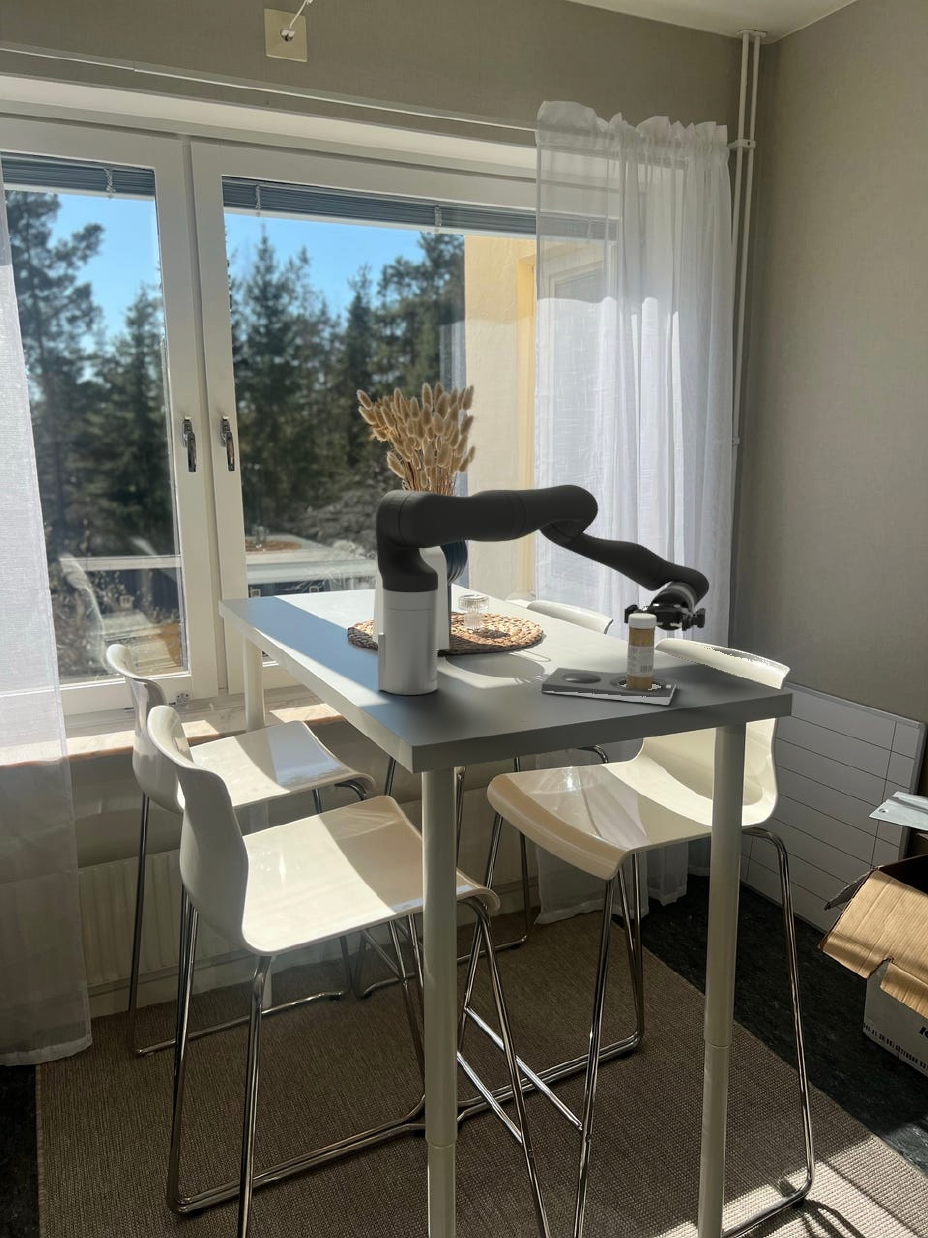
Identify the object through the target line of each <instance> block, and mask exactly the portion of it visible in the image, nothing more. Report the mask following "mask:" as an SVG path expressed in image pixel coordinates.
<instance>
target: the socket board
mask: <svg viewBox="0 0 928 1238" xmlns="http://www.w3.org/2000/svg"><path fill="white" fill-rule="evenodd" d="M676 682H677V683H678V679H677V678H671V677H659V676H652V684H656V685H659V686H661V688H657V689H652V690H639V689H631V688H627V687H623V686H621V685H624V684H627V673H618V672H617V673H616V672H607V671H597V670H588V669H586V670H585V669H576V668H565V667H557V668H556V669H555V670H554V671H553V672H552V673H551V674H550V675H549V676H548V677H547V678H546V679H545V680H544V681H543V682H542V684H541V692H542V691H554V692H578V693H592V694H593V693H594V694H608V695H621V696H642V697H643V696H646V697H670V695H671V693H672V690H673V688H674V686H675V684H676Z"/></svg>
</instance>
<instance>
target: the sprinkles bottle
mask: <svg viewBox="0 0 928 1238" xmlns="http://www.w3.org/2000/svg"><path fill="white" fill-rule="evenodd" d="M627 626H628V642H627V661H626V674H627V685H626V687H627V688H631V689H639V690H648V689H651V688H652V677H654V676H653V675H654V663H655V661H654V660H655V634H656V633H655V631H656V628H657V626H656V616H655V615H652V614H644V613H636V614H631V615H629V620H628V624H627Z"/></svg>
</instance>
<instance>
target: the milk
mask: <svg viewBox="0 0 928 1238" xmlns="http://www.w3.org/2000/svg"><path fill="white" fill-rule="evenodd" d="M419 549H420V555H421V557H422V558H423V560H424V561H425V562H426V563H427V564H428V565H429V566H430V567H432V568H433V569H434V570H435V571H436V572H437V574H438V638H437V649H449V650H450V631H449V629H450V628H449V625H450V624H449V598H448V597H449V595H448V569H447V567H448V563H447V558H446V555H445V553H444V551H443V550H442V548H441V546H437V547H432V548H419ZM375 572H376V574H375V585H374V586H375V587H374V589H375V590H374V591H375V592H374V608H373V622H372V623H373V624H372V627H373V628H372V638H371V639H372V641H374V642H376V643H377V644H378V634H379V633H381V632H383V587H382V577H381V574H380V572H379V569H378V562H377V561H376V571H375ZM372 641H371V642H372Z"/></svg>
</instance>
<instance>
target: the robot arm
mask: <svg viewBox="0 0 928 1238" xmlns="http://www.w3.org/2000/svg"><path fill="white" fill-rule="evenodd" d="M598 513H599V505H598V501H597V500H596V498H595V497H594V495H593V494H592V493H591V492H590V491H588V490H587V489H585V488H583V487H581V486H578V485H575V484H561V485H556V486H550V487H544V488H532V489H487V490H486V489H485V490H481V491H479V492H475V493H474V494H472V495H469V496H455V495H447V494H443V493H442V494H440V493H435V492H430V491H425V490H412V489H411V490H409V489H393V490H391V491H389V492H387V493H386V494H385V495H383V496H382V498H381V499H380V502H379V504H378V507H377V510H376V517H375V539H376V542H375V543H376V557H377V558H376V563H377V562H378V569H379V572H380V574H381V577H382V587H383V632H381V633H379V634H378V647H377V690H380V691H385V692H387V693H389V694H394V695H403V696H411V695H412V696H414V695H425V694H429V693H432V692H435V691H436V690H437V688H438V651H437V638H438V574H437V572H436V571H435V570H434V569H433V568H432V567H430V566H429V565H428V564H427V563H426V562H425V561H424V560H423V558H422V557H421V555H420V549H419V548H432V547H437V546H440V547H441V546H445V545H449V544H454V543H457V542H458V543H459V542H463V541H472V542H480V543H481V542H482V543H483V542H485V543H486V542H488V543H489V542H490V543H491V542H492V543H498V542H509V541H514V540H518V539H521V538H524V537H526V536H528V535H530V534H533V533H534V532H536V531H539V532H540V533H541V534H542V536H544V537H545V538H546V539H547V540H548V541H550V542H551V543H553V544H555V545H557V546H559V547H561V548H563V549H565V550H568V551H570V552H573V553H575V554H577V555H579V556H582V557H584V558H587V559H589V560H591V561H593V562H597V563H600V564H602V565H604V566H605V567H608V568H610V569H613V570H614V571H617V572H618V573H620V574H622V575H623V576H624V577H626V578H628V579H630V580H631V581H633V582H635V583H636V584H637V585H639V586H641V587H642V588H643V589H646V590H648V591H650V592H655V591H658V590H660V589H661V588H663V587H664V586H665V585H667V584H668V585H667V586H666V587H665V588H663V589H662V590H660V591H659V592H658V593H657V594H656V595H655V596H654V598H652V600H651V602H650V604H649V605H646V606H644V605H643V606H642V608H639V606H638V605H637V604H636V603H633V604H630V605H629V606H628V607H626V608H625V609H624V612H623V613H624V615H623V617H624V619H623V622H624V624H626V625H628V620H629V615H631V614H636V613H644V614H652V615H655V616H656V628H659V629H661V630H663V631H668V632H674V631H677V630H679V629H681V631H682V632H687V630H690V629H693V628H694V626H696V627H697V628H698V629H703V628H704V629H705V624H706V615H707V612H706V611H707V610H706V608H704V607H700V608H699V609H696V610H695V608H696V606H697V605H698V604H699V603H700V602H701V600H703V598H704V597H705V596H706V595H707V593H708V592H709V590H710V582H709V580H708V579H707V577H706V576H705V574H704V573H702V572H700V571H699V570H697V569H695V568H692V567H688V566H684V565H680V564H677V563H674V562H671V561H668V560H666V559H664V558H663V557H661V556H659V555H658V554H656V553H655V552H653V551H652V550H650V549H648V548H647V547H645V546H644V545H641V544H638V543H635V542H632V541H625V540H617V539H616V540H614V539H605V538H600V537H596V536H594V535H591V534H588V533H585V532H584V531H586V530H587V529H588V528H589V527H590V526H591V525H592V524H593V523H594V521H595V519H596V518H597V515H598ZM694 610H695V611H694Z"/></svg>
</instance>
